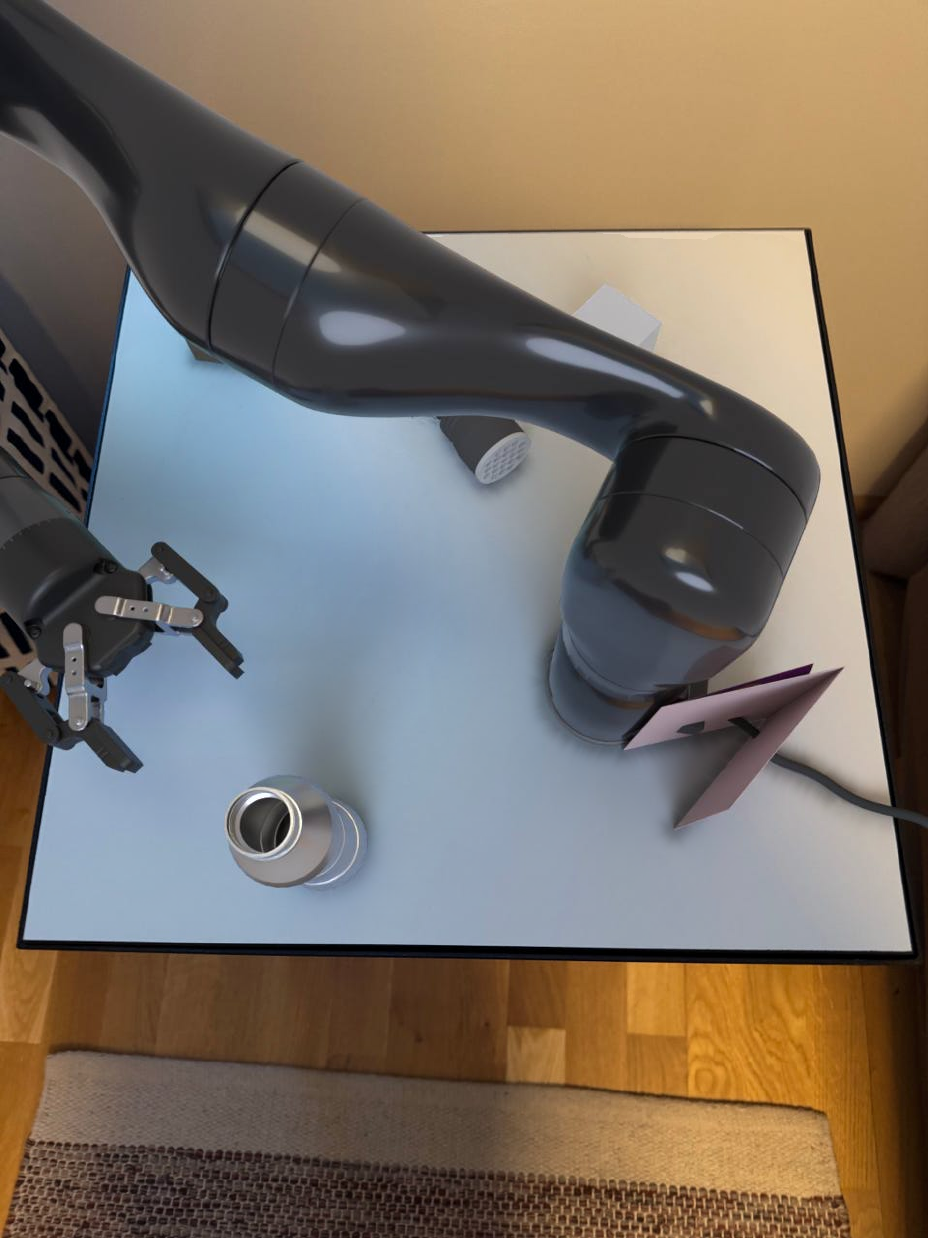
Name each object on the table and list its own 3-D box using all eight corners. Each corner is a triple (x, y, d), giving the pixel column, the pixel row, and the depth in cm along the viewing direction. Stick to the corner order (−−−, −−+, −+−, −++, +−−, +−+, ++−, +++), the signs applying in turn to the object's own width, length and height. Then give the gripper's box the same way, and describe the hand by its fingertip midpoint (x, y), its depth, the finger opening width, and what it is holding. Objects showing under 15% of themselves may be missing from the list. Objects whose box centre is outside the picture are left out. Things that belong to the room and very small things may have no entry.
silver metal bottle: (309, 785, 64) (234, 737, 45) (387, 825, 63) (344, 793, 44) (266, 864, 62) (169, 849, 43) (346, 907, 61) (283, 911, 42)
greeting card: (762, 707, 65) (840, 652, 50) (795, 802, 62) (886, 773, 48) (619, 739, 64) (657, 693, 50) (647, 836, 62) (694, 817, 48)
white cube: (606, 409, 74) (615, 368, 68) (554, 370, 75) (559, 327, 69) (649, 365, 75) (662, 321, 69) (597, 328, 76) (605, 282, 70)
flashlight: (378, 370, 75) (370, 331, 70) (427, 340, 76) (423, 299, 71) (479, 493, 71) (478, 461, 66) (529, 459, 72) (532, 425, 67)
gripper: (-86, 611, 52) (70, 794, 48) (94, 463, 55) (255, 624, 51) (-17, 645, 59) (124, 807, 55) (139, 513, 62) (284, 658, 58)
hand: (187, 719), depth 53 cm, fingers open, 8 cm apart
